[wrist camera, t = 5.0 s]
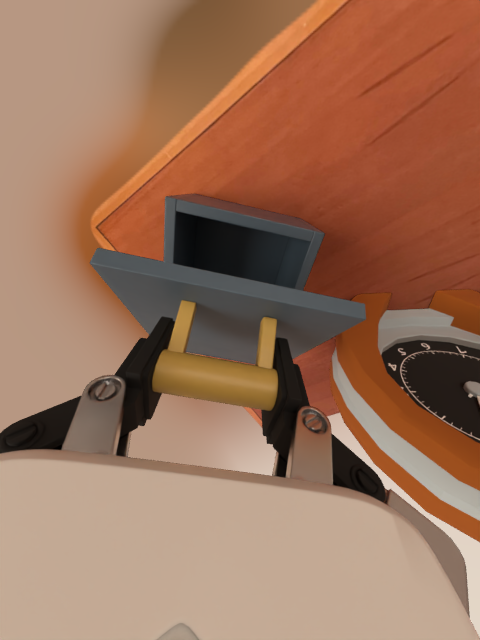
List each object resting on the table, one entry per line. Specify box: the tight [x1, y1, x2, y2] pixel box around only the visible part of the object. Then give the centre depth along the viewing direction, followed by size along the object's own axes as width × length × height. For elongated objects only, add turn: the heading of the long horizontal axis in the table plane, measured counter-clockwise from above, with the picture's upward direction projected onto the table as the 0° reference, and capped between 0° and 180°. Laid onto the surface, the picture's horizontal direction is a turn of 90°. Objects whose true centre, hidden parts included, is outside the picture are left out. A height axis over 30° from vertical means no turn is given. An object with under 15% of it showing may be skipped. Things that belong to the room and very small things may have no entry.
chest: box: [164, 194, 325, 291], centre depth 22 cm, size 13×12×9 cm
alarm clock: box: [329, 289, 480, 542], centre depth 20 cm, size 22×10×23 cm, turn 94°
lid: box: [90, 248, 366, 411], centre depth 14 cm, size 13×12×5 cm
